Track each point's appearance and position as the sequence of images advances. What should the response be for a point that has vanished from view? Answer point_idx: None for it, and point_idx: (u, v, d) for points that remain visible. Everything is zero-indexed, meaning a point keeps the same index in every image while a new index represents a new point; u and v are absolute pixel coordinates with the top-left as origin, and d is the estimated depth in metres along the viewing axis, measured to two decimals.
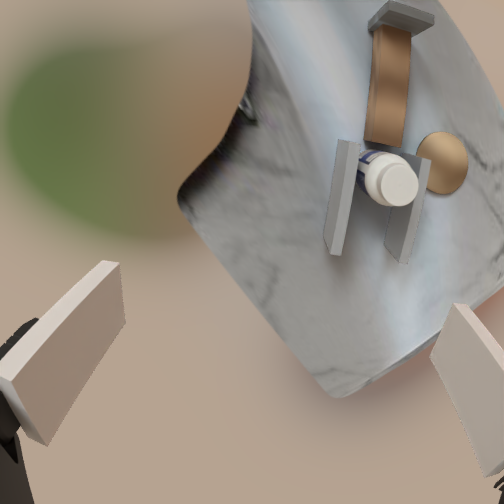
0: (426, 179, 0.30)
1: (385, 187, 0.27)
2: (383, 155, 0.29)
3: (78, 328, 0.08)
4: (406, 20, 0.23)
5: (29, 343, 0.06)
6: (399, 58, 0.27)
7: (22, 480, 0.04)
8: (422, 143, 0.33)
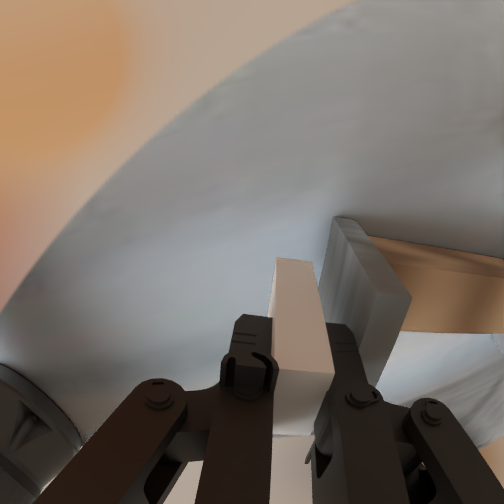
0: None
1: None
2: None
3: None
4: None
5: (289, 335, 0.08)
6: (432, 294, 0.13)
7: None
8: None
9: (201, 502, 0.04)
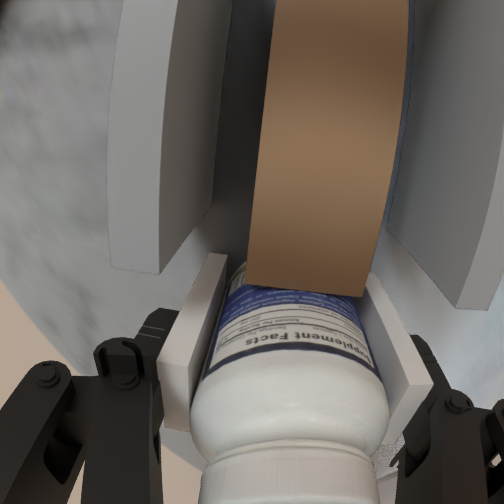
0: None
1: None
2: (255, 367, 0.07)
3: (211, 314, 0.10)
4: None
5: (185, 329, 0.08)
6: None
7: (160, 482, 0.06)
8: None
9: (87, 490, 0.04)
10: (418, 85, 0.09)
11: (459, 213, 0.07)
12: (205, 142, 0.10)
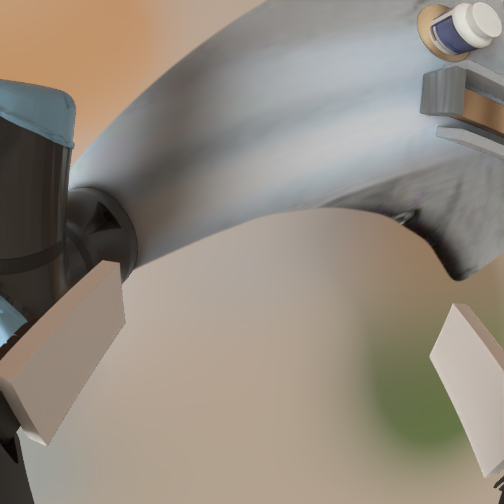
0: (483, 67, 0.23)
1: (476, 16, 0.17)
2: (464, 3, 0.19)
3: (78, 328, 0.08)
4: None
5: (29, 343, 0.06)
6: (470, 100, 0.26)
7: (23, 480, 0.04)
8: (434, 51, 0.28)
9: None
10: (483, 89, 0.28)
11: None
12: None
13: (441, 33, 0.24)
